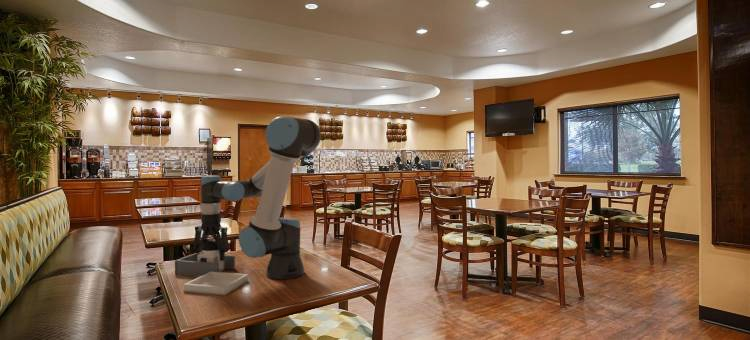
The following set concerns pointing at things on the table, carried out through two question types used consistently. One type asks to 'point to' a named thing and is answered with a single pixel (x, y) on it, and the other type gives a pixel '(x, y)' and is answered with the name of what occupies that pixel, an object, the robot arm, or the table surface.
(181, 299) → the table surface
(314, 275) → the table surface
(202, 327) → the table surface
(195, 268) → the bay
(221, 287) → the tray
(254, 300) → the table surface
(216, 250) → the container
